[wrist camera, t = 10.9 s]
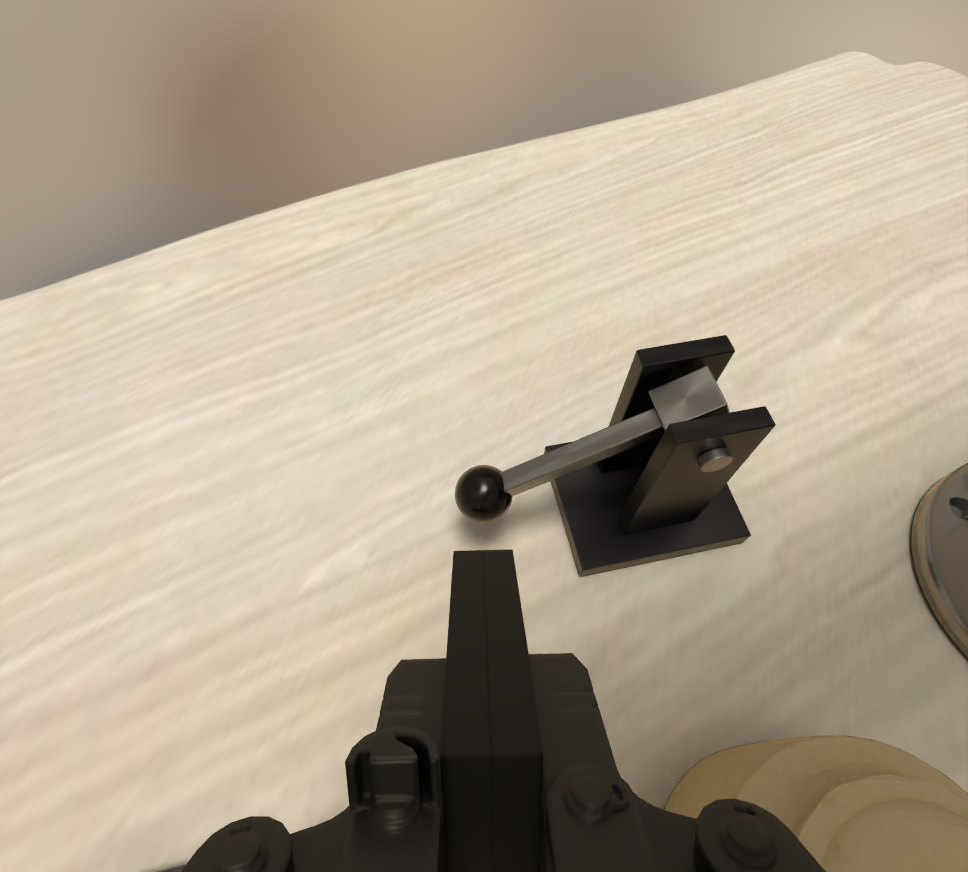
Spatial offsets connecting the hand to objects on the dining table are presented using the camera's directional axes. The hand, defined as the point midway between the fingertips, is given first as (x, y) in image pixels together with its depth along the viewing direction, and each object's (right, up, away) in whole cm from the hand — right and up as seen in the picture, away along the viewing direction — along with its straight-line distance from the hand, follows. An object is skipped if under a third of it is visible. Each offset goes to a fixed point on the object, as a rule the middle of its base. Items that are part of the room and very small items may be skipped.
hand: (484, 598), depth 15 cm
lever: (+5, +3, +15) cm, 16 cm away
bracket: (+10, 0, +20) cm, 22 cm away
